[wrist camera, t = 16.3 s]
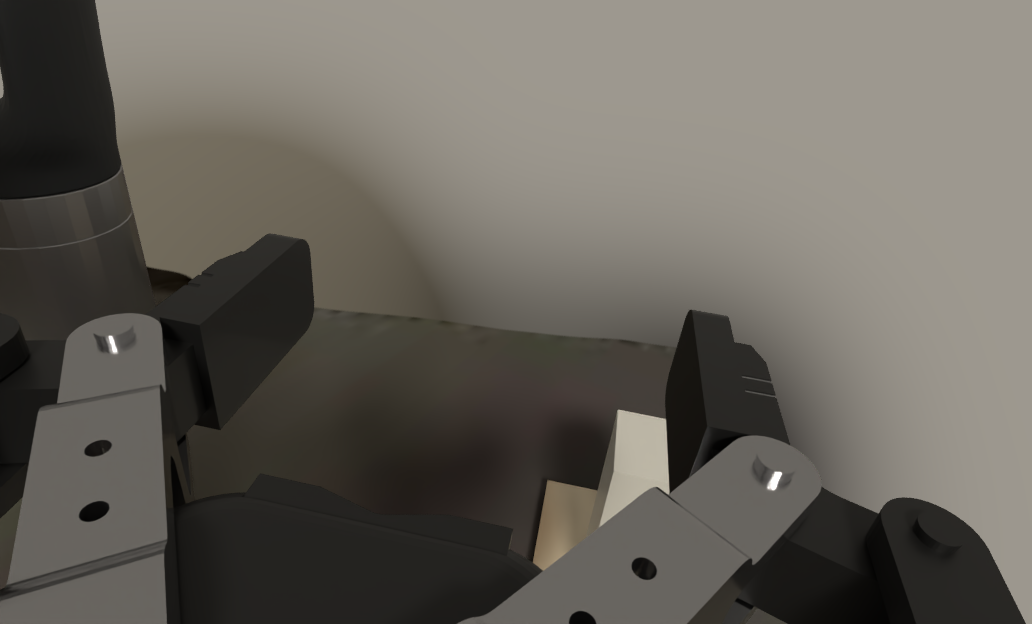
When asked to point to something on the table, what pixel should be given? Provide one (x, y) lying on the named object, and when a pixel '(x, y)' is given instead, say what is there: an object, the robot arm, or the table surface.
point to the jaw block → (631, 465)
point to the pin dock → (562, 521)
